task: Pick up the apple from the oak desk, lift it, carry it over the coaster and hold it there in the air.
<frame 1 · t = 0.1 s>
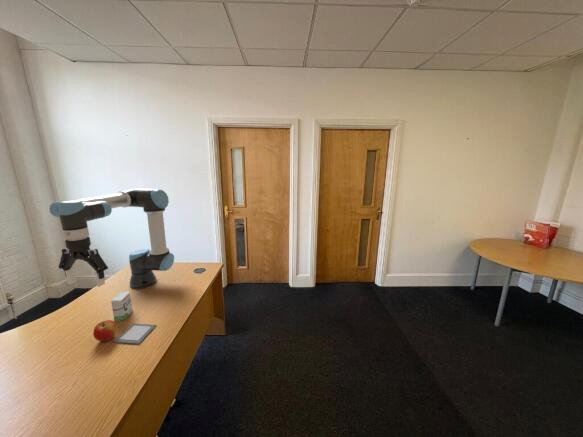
hand: (86, 284, 97), 28 cm above the table, fingers open, 13 cm apart
apple: (107, 339, 103), on the table
ink box: (123, 315, 119), on the table
coaster: (136, 333, 107), on the table
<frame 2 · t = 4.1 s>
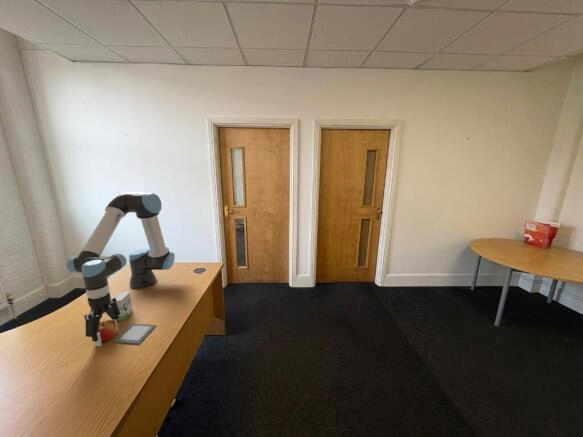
hand: (107, 338, 103), 0 cm above the table, fingers closed on apple, 8 cm apart
apple: (107, 339, 103), on the table, touching gripper
everything else where it was.
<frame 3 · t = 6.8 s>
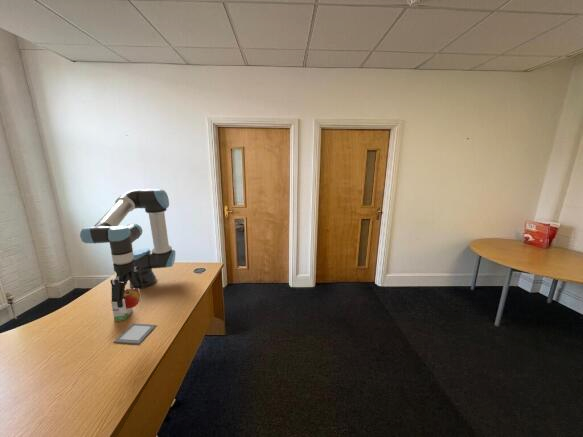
hand: (130, 306, 103), 15 cm above the table, fingers closed on apple, 8 cm apart
apple: (130, 307, 103), point 15 cm above the table, touching gripper
everything else where it was.
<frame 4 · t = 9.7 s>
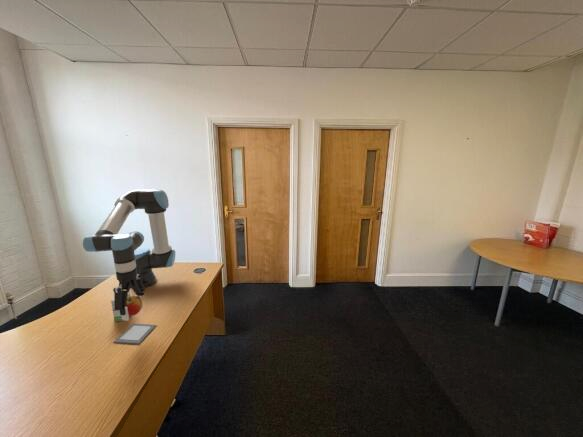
hand: (133, 313, 104), 11 cm above the table, fingers closed on apple, 8 cm apart
apple: (133, 314, 104), point 11 cm above the table, touching gripper
everything else where it was.
at the end: the gripper is holding apple; apple point 10.7 cm above the table; apple 0.1 cm from the coaster (horizontally) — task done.
